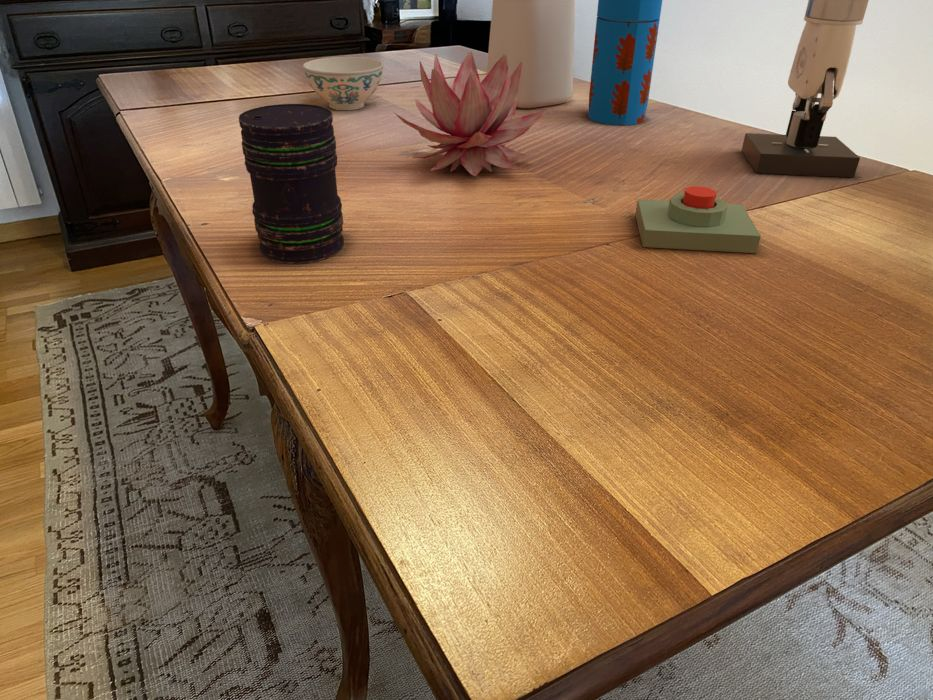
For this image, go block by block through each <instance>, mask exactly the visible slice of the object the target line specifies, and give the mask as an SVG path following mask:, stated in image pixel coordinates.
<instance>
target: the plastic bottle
mask: <svg viewBox="0 0 933 700" xmlns="http://www.w3.org/2000/svg"><path fill="white" fill-rule="evenodd" d="M491 6H492V7H491V19H490V27H489V28H490V29H489V40H488V53H487V63H486V74H485V76H486V75H487V74H488V73H489V71H490V70H491V69H492V67H493V66H494V65H495V64H496V62H497V61H498V60H499V59H500V58H501V57H502V56H503V55H506V56H507V63H508V69H510V76H511V75H512V74H513V72H514V71H515V69H516V68H517V67H518V65H519V64H520V62H521V61H522V71H521V79H520V83H519V88H518V92H517V95H516V97H517V98H518V101H517V105H516V109H517V108H518V109H537V108H543V107H548V106H554V105H560V104H561V105H562V104H565V103H568V102H569V101H571V99H572V98H573V95H574V71H575V70H574V69H575V68H574V67H575V66H574V65H575V23H576V22H575V21H576V20H575V19H576V17H575V16H576V0H492V5H491Z"/></svg>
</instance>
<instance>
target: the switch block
mask: <svg viewBox="0 0 933 700" xmlns="http://www.w3.org/2000/svg"><path fill="white" fill-rule="evenodd" d="M684 193H685V192H682V193H677V194H674V195H673V196H672V197H670V198H669V200H662V199H661V200H659V199H638V198H637V200H636V208H635V219H636V224H637V228H638V233H639V237H640V242H641V247H642V248H654V249H668V250H669V249H670V250H671V249H673V250H689V251H708V252H725V253H726V252H727V253H744V254H757V252H758V249H759V246H760V242H761V238H762V237H761V233H760V232H759V231H758V228H757V227H756V225H755V224H754V221H753V220H752V218H751V216H750V215H749V213H748V212H747V210H746V208H745V206H744V205H743V204H741V203H727V202H726V201H725V200H723V199H721V198H719V197H717V196H716V198H715V203H714V207H713V208H709V209H697V208H692V207H688V206H686V205H684V204H683V199H684Z"/></svg>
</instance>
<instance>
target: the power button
mask: <svg viewBox="0 0 933 700" xmlns="http://www.w3.org/2000/svg"><path fill="white" fill-rule="evenodd" d="M683 193H684V199H683V204H684V205H686V206H688V207H692V208H697V209H709V208H713V207H714V203H715V198H716V197H717V191H716V190H714V189H713V188H710V187H706V186H701V185H699V186H698V185H694V186H688V187H686V188H685V189H684V192H683Z"/></svg>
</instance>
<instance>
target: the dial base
mask: <svg viewBox="0 0 933 700" xmlns="http://www.w3.org/2000/svg"><path fill="white" fill-rule="evenodd" d="M787 138H788V137H787V136H786V134H776V133H775V134H774V133H754V132H753V133H750V132H748V133H747V132H746V133H745V134H744V137H743V143H742V147H741V153H742V155H743V157H745V159H746V161H748V163H749V165H750V166H751V167H752V169H753V170H754V172H755V173H756V174H765V175H784V176H785V175H787V176H806V177H807V176H809V177H810V176H811V177H828V178H829V177H830V178H831V177H832V178H855V176H856V173H857V169H858V166H859V163H860V160H861V157H860V156H859V155H857V154H856V153H855V151H853V150H852V149H851V148H849V146H847V145H846V144H845V143H844V142H843V141H842V140H841V139H839V138H838V137H837V136H828V135H827V136H824V135H820V138H819V141H818V145H817V147H815V148H797V147H793V146H790V145H788V144H787V143H786V142H787Z"/></svg>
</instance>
